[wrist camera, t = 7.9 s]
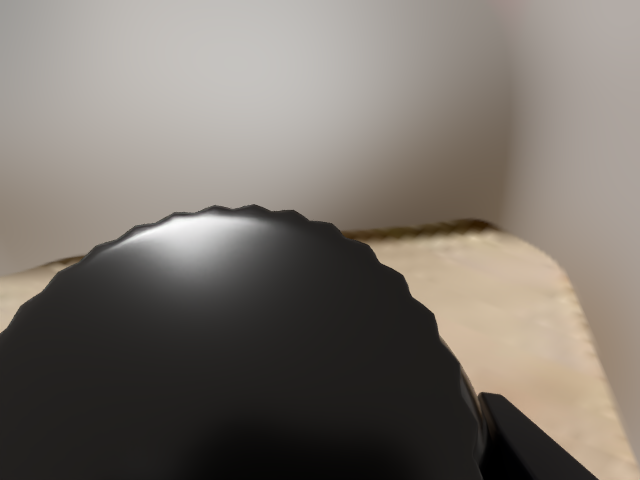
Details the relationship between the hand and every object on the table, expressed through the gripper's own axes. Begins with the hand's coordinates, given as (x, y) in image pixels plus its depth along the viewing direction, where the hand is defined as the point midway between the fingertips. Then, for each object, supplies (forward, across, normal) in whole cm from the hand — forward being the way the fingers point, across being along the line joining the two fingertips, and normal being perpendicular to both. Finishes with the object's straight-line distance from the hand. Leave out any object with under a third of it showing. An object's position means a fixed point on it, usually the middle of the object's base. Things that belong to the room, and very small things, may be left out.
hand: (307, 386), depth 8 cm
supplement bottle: (+4, 0, +6) cm, 7 cm away
